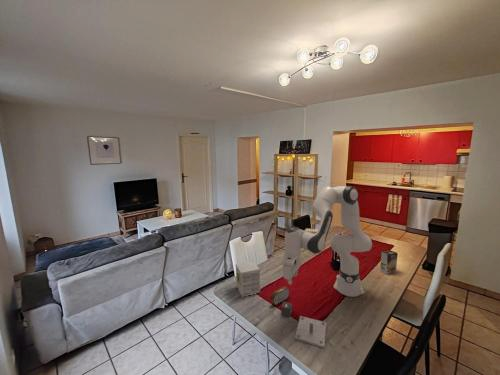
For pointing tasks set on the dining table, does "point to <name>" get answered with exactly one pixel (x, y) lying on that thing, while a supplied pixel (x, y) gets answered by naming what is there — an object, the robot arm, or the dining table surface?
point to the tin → (280, 295)
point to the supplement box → (248, 278)
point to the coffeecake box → (311, 230)
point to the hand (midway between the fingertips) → (292, 279)
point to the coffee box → (388, 262)
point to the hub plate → (311, 331)
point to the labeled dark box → (286, 309)
